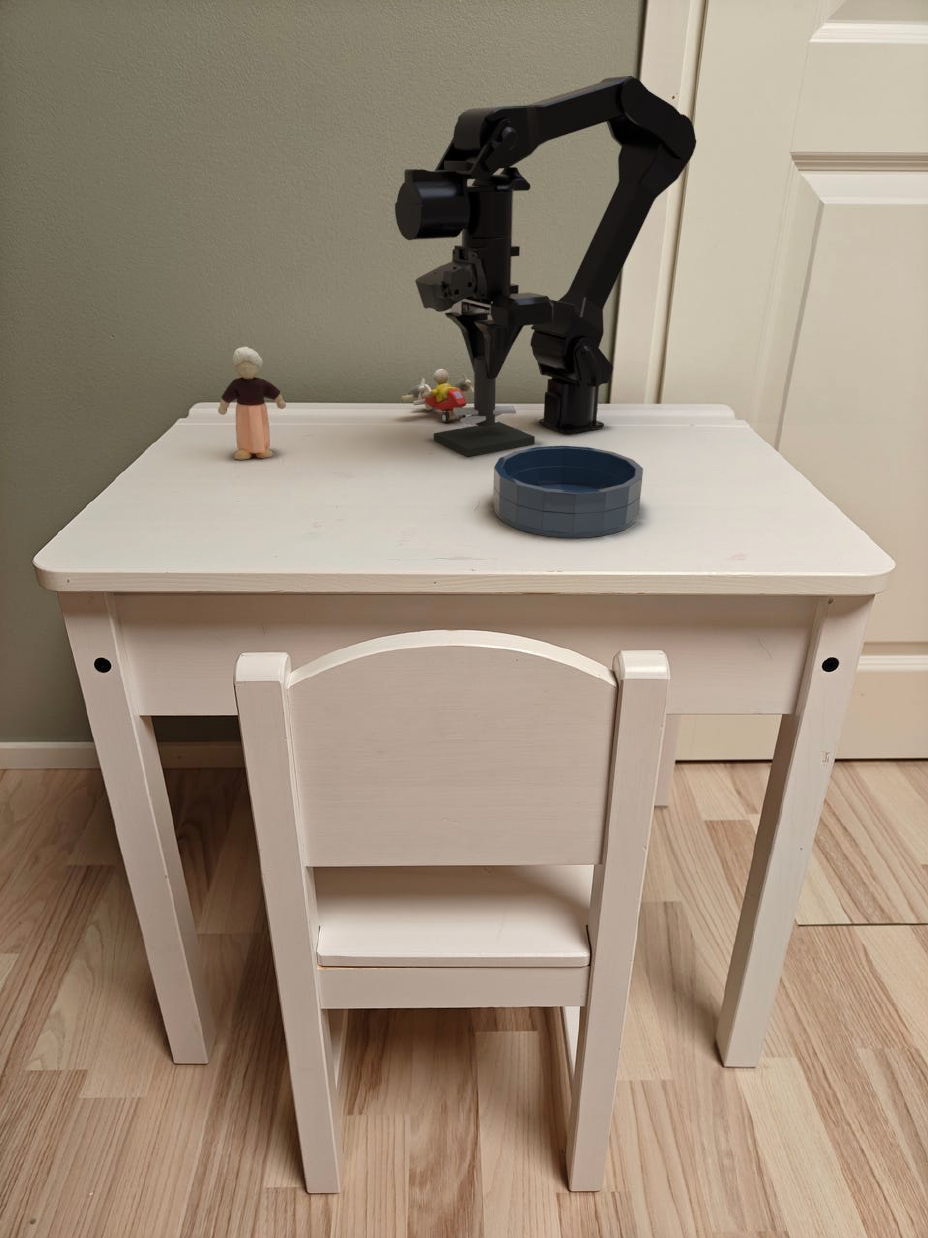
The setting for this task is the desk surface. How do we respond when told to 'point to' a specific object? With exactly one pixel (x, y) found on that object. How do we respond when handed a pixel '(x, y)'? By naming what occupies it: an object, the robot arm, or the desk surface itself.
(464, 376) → the toy airplane
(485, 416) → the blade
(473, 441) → the mat
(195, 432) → the desk surface
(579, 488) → the bowl
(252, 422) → the grandmother figurine
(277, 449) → the desk surface
